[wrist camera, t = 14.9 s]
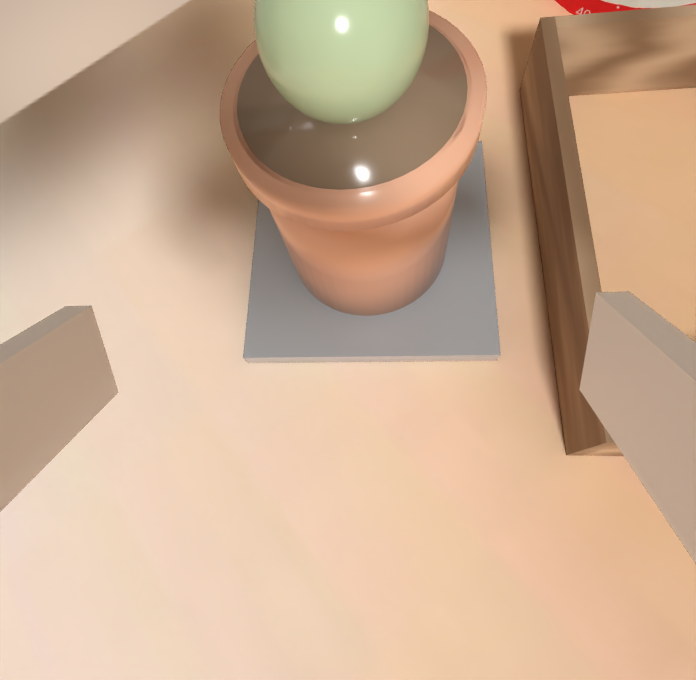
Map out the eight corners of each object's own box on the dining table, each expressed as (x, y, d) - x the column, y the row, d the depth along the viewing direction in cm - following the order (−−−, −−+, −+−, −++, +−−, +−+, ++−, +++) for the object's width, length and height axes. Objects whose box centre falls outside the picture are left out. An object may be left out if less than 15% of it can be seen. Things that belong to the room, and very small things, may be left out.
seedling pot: (267, 205, 30) (126, -113, 14) (418, 154, 30) (436, -216, 15) (312, 348, 26) (187, 127, 11) (482, 289, 26) (594, -10, 11)
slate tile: (248, 362, 27) (243, 357, 27) (267, 164, 32) (263, 153, 31) (497, 360, 26) (500, 354, 25) (479, 152, 31) (481, 141, 30)
